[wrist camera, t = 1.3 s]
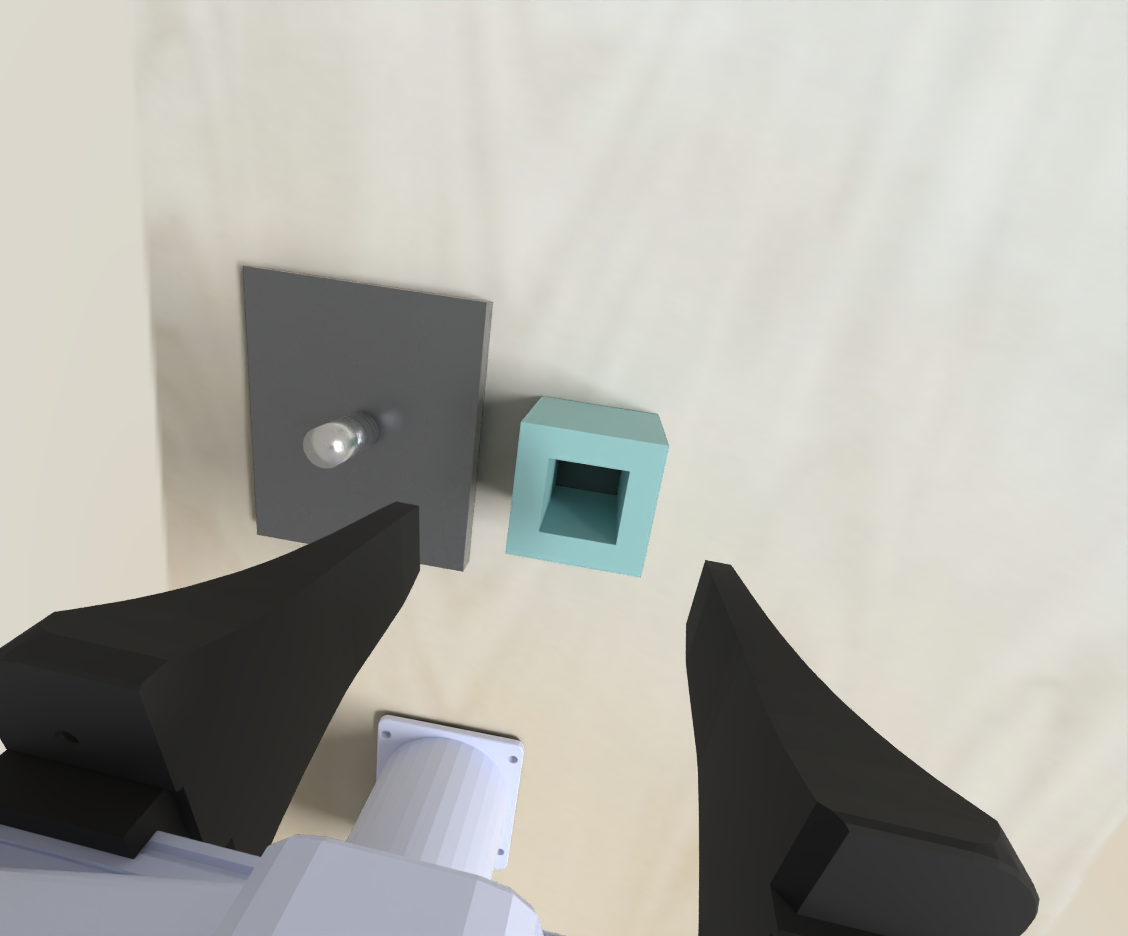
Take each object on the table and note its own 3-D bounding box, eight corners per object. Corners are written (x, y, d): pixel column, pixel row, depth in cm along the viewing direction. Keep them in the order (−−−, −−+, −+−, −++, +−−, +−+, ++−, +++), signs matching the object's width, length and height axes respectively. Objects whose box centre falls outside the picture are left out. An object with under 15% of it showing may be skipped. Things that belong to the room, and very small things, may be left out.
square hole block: (636, 521, 24) (640, 577, 19) (528, 503, 24) (505, 553, 19) (658, 414, 22) (669, 445, 17) (542, 396, 22) (520, 421, 17)
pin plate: (468, 561, 25) (441, 607, 21) (270, 525, 26) (209, 565, 22) (492, 302, 21) (465, 302, 17) (259, 267, 22) (183, 259, 18)
